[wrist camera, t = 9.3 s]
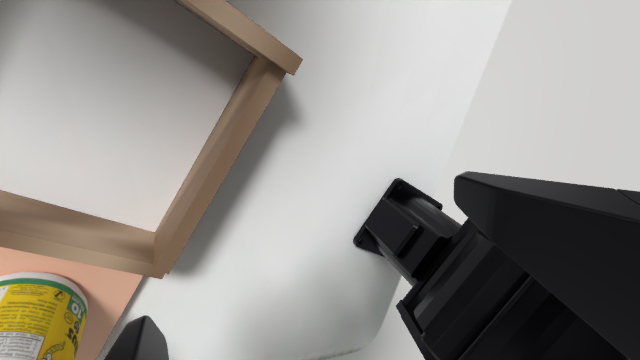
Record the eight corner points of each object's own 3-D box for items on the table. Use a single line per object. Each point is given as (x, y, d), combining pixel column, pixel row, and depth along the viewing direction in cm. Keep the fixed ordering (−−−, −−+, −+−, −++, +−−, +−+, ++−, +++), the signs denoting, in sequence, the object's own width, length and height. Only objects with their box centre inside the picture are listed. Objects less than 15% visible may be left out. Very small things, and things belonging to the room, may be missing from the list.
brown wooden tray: (274, 51, 18) (303, 59, 14) (162, 246, 20) (161, 299, 16) (-79, -206, 10) (-222, -337, 6) (-198, 155, 12) (-356, 213, 9)
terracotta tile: (147, 263, 20) (146, 269, 19) (93, 358, 21) (91, 366, 21) (-55, 218, 15) (-62, 225, 14) (-109, 346, 16) (-118, 357, 16)
